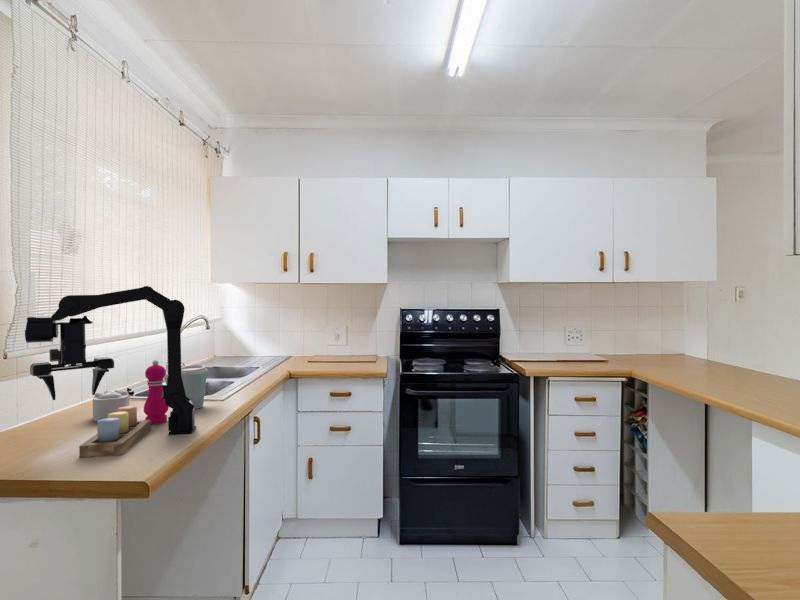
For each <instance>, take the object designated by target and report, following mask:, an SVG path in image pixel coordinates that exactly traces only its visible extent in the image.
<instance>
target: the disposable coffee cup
mask: <svg viewBox="0 0 800 600" xmlns="http://www.w3.org/2000/svg"><path fill="white" fill-rule="evenodd" d="M208 371H209V370H208V367H207V365H205V364H189V365H184V366H181V376H182V381H183V385H184V389H185V394H186V396H187V397H188V398H189V399H190V400H191V401H192V403H193V405H194V408H193V409H194V410H196V409H200V408H202V407H203V405H204V402H205V394H206V385H207V376H208Z"/></svg>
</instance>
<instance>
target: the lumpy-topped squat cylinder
mask: <svg viewBox="0 0 800 600" xmlns="http://www.w3.org/2000/svg"><path fill="white" fill-rule="evenodd" d="M93 396H94V397H92V421H93V420H94V421H98V420H101V419H106V418H108V414H110V413H114V412H117V409H118V408H120V407H125V406H130V394H129V391H128V390H124V389H123V390H120V389H117V388H116V389H115V390H113V391H112V390H111V389H107V390H105V391H104V393H103V392H100V391H99V392H98V391H96V393H95V395H93ZM94 421H93V422H94Z"/></svg>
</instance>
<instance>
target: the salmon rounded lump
mask: <svg viewBox="0 0 800 600" xmlns="http://www.w3.org/2000/svg"><path fill="white" fill-rule="evenodd" d="M137 411H138V407H137V406H135V405H129V406H125V407H120V408H118V409H117V412H128V421H129V427H130V426H134V425H137V420H138V412H137Z"/></svg>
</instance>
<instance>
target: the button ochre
mask: <svg viewBox="0 0 800 600" xmlns="http://www.w3.org/2000/svg"><path fill="white" fill-rule="evenodd" d="M108 418H119V434H120V433H125V432H127V431H129V421H128V412H114V413H110V414H108Z"/></svg>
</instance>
